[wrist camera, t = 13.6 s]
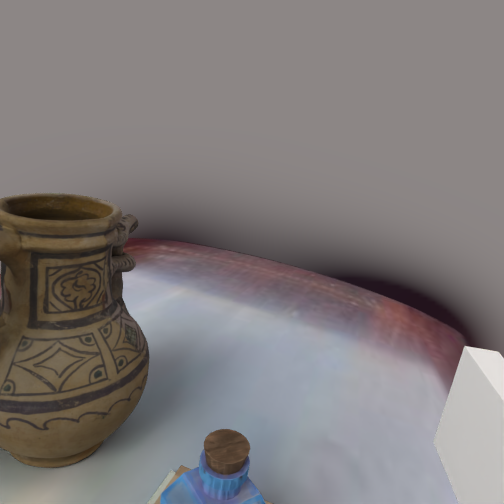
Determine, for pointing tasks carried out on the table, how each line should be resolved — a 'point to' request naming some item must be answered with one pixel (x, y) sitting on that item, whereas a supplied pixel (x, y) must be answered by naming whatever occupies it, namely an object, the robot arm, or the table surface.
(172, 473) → the felt mat
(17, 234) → the decorative pitcher
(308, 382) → the table surface
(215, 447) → the perfume bottle
